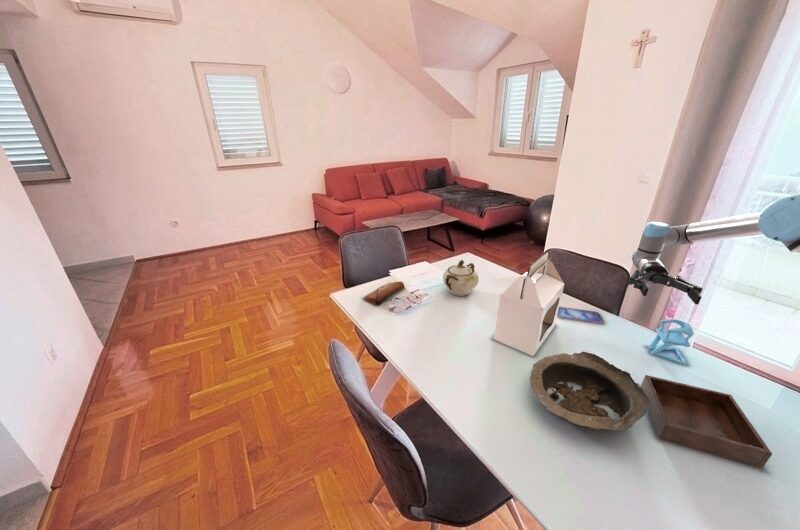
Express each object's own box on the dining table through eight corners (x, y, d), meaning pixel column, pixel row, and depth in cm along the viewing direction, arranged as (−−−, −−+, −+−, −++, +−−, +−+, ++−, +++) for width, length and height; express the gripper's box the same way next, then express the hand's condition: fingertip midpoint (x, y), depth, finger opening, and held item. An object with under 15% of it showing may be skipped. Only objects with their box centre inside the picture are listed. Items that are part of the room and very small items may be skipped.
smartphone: (555, 306, 123) (598, 312, 119) (555, 308, 123) (597, 314, 119) (558, 316, 116) (604, 322, 112) (558, 318, 117) (603, 324, 113)
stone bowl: (656, 416, 77) (668, 389, 72) (600, 477, 65) (610, 449, 61) (562, 358, 96) (567, 334, 91) (506, 397, 84) (509, 371, 80)
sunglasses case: (389, 283, 142) (395, 273, 138) (400, 294, 140) (406, 284, 136) (362, 298, 129) (367, 289, 125) (373, 311, 127) (379, 301, 123)
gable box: (532, 357, 97) (549, 276, 86) (492, 340, 105) (503, 264, 93) (554, 326, 112) (571, 253, 101) (518, 313, 120) (530, 244, 109)
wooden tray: (722, 409, 79) (731, 394, 77) (761, 470, 65) (772, 454, 63) (639, 388, 85) (645, 374, 83) (658, 439, 71) (665, 424, 69)
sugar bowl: (460, 306, 125) (463, 272, 119) (431, 293, 135) (432, 261, 129) (486, 289, 138) (490, 258, 132) (458, 279, 147) (460, 249, 141)
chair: (645, 344, 103) (657, 313, 98) (676, 350, 100) (690, 318, 95) (652, 359, 96) (666, 326, 91) (686, 366, 93) (701, 332, 88)
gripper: (690, 285, 115) (716, 314, 97) (611, 274, 124) (622, 299, 106) (698, 266, 112) (727, 293, 94) (616, 256, 121) (628, 279, 103)
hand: (671, 296), depth 100 cm, fingers open, 13 cm apart
